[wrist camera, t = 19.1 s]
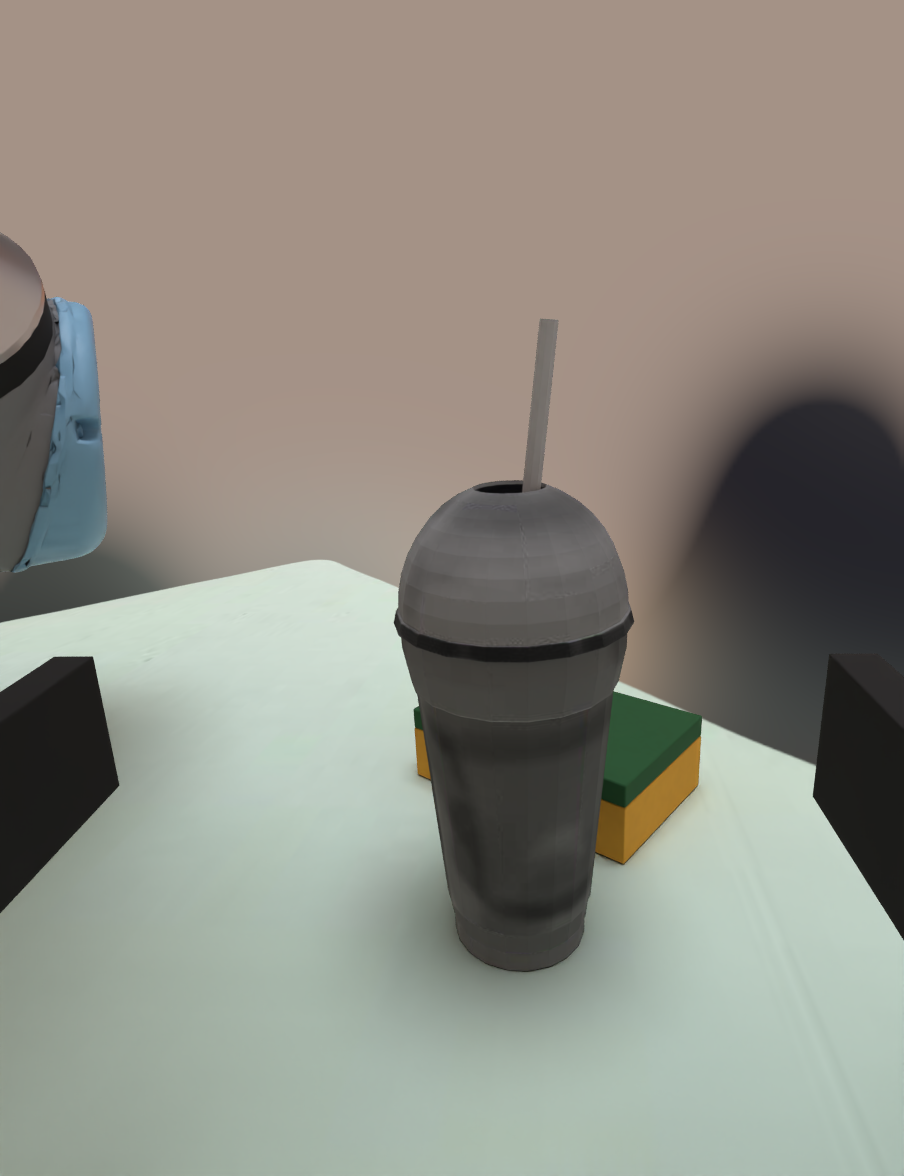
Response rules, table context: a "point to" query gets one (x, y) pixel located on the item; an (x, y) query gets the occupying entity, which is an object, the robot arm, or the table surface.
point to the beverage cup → (516, 696)
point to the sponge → (633, 770)
